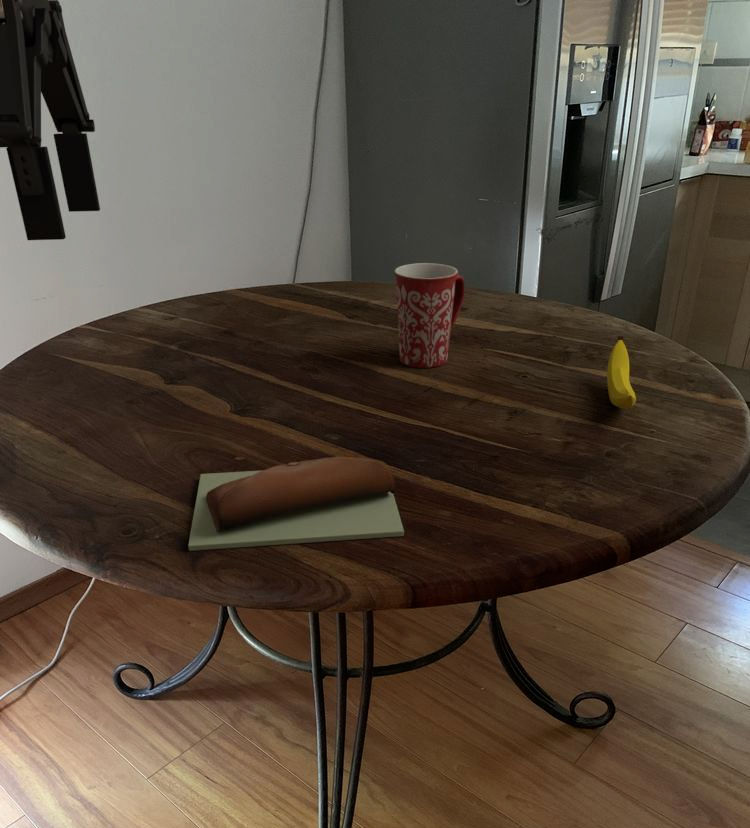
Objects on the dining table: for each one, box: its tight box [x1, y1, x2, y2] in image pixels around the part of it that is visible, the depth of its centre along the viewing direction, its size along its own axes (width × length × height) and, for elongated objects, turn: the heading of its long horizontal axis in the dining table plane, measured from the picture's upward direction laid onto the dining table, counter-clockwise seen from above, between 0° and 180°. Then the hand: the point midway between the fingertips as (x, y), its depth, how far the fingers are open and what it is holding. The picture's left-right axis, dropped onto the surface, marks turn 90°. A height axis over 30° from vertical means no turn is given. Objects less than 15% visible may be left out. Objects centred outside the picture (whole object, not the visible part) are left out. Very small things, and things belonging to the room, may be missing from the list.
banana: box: [606, 335, 637, 410], centre depth 95 cm, size 3×19×6 cm, turn 168°
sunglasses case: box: [206, 456, 396, 532], centre depth 73 cm, size 18×7×7 cm
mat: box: [187, 469, 405, 552], centre depth 74 cm, size 20×14×1 cm
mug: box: [393, 262, 466, 369], centre depth 109 cm, size 13×9×14 cm
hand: (67, 224), depth 63 cm, fingers open, 13 cm apart
